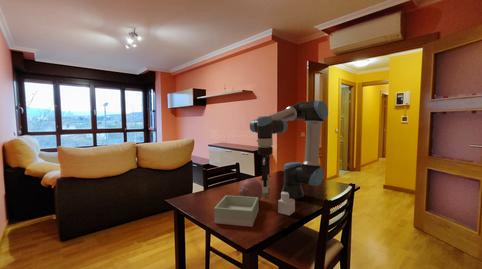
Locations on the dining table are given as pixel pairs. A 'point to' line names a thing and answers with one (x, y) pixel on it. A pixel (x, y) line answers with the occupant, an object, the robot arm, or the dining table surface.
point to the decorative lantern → (250, 188)
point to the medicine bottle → (286, 203)
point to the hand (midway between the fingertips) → (266, 190)
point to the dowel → (267, 195)
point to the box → (236, 210)
